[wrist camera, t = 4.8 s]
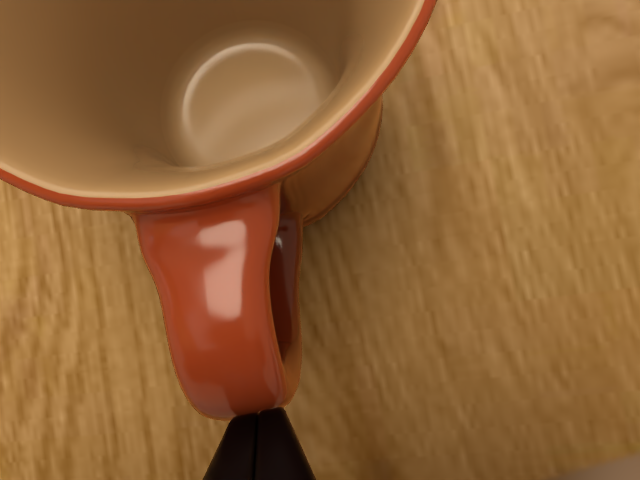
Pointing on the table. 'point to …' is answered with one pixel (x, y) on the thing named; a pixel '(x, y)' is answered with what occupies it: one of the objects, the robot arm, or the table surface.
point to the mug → (205, 152)
